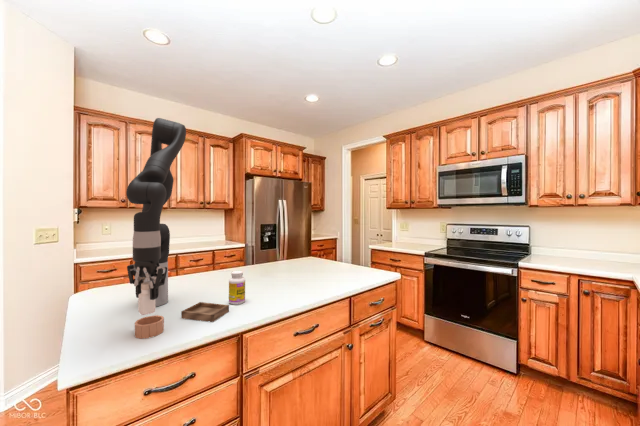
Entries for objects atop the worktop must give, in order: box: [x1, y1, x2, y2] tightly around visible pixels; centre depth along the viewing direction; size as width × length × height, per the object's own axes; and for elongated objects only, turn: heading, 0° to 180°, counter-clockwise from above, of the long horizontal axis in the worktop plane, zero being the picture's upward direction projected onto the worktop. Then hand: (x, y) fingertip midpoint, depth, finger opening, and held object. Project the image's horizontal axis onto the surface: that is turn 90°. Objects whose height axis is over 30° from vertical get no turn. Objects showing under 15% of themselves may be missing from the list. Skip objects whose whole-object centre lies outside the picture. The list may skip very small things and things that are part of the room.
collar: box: [134, 314, 165, 340], centre depth 86 cm, size 8×8×4 cm
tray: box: [180, 301, 230, 323], centre depth 101 cm, size 13×10×2 cm
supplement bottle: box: [228, 270, 246, 305], centre depth 114 cm, size 7×7×13 cm
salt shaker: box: [137, 282, 156, 316], centre depth 86 cm, size 4×4×10 cm
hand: (146, 297), depth 86 cm, fingers closed on salt shaker, 5 cm apart
